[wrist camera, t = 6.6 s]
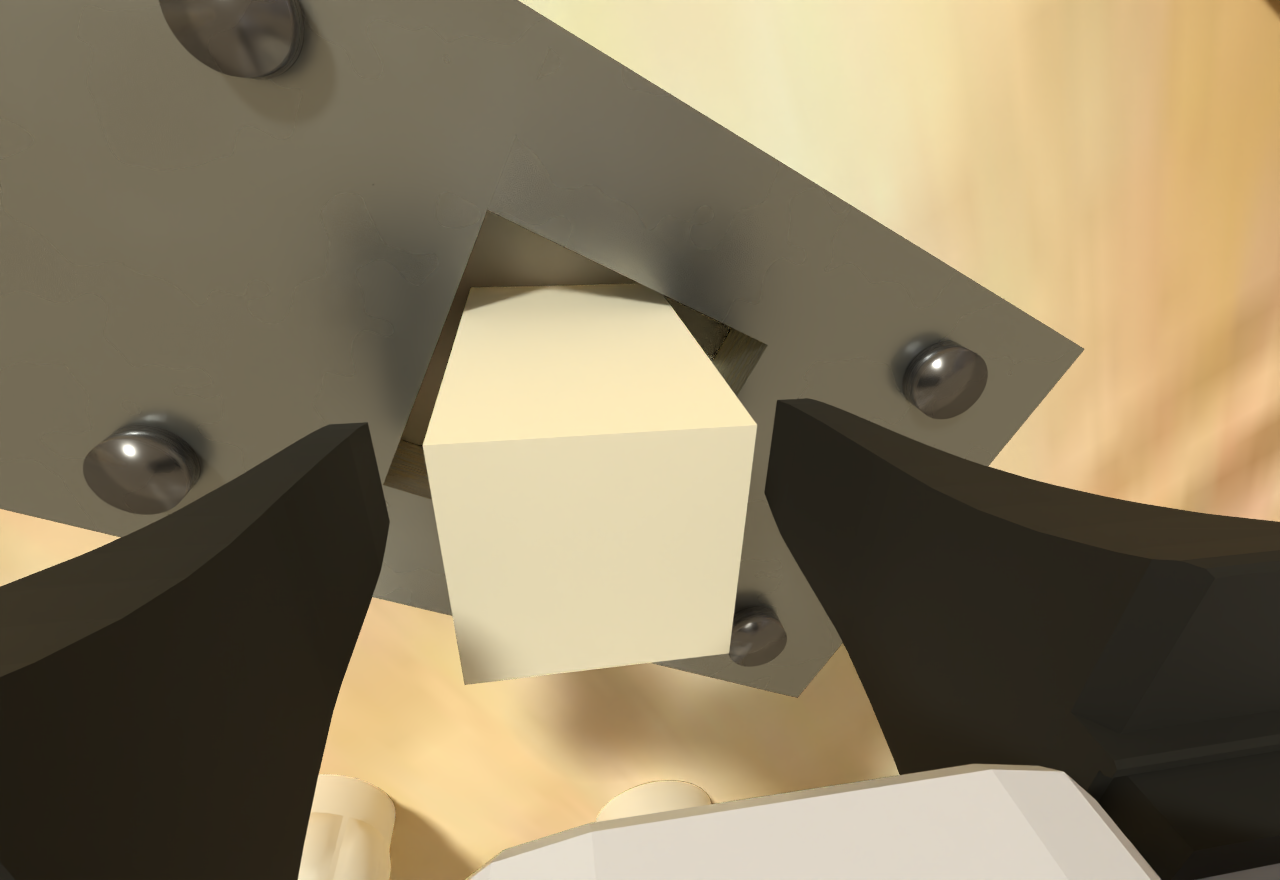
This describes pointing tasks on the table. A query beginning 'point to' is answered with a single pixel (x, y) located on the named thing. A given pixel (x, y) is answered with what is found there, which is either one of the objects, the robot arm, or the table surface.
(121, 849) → the robot arm
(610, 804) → the binoculars
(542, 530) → the cream rectangular block
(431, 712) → the table surface
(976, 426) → the strike plate
